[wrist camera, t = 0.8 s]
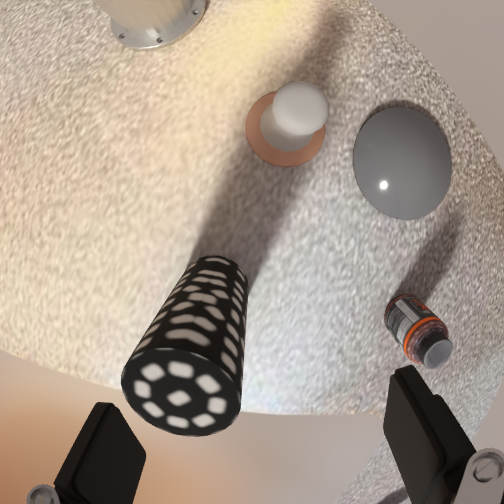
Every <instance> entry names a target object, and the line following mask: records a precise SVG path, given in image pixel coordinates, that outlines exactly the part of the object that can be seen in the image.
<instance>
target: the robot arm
mask: <svg viewBox="0 0 504 504" xmlns="http://www.w3.org/2000/svg"><path fill="white" fill-rule="evenodd" d="M92 1H93V2H95V3H96V4H97V5H98V6H99V7H100V8H101V9H102V10H103V11H105V12H106V13H107V14H108V15H109V16H110V17H111V22H110V26H111V31H112V33H113V35H114V37H115V38H116V39H117V40H118V41H119V42H120V43H121V44H123V45H124V46H126V47H128V48H130V49H134V50H142V51H148V50H156V49H159V48H163V47H166V46H168V45H171V44H173V43H175V42H177V41H178V40H180V39H182V38H183V37H184V36H186V35H187V34H188V33H189V32H191V31H192V30H193V28H194V27H195V26H196V25H197V24H198V22H199V21H200V19H201V18H202V16H203V13H204V11H205V6H206V0H92ZM195 14H196V15H195ZM161 41H162V42H161ZM160 42H161V43H160ZM383 429H384V434H385V436H386V439H387V441H388V443H389V446H390V448H391V451H392V453H393V456H394V458H395V461H396V463H397V466H398V469H399V471H400V474H401V476H402V479H403V481H404V484H405V487H406V489H407V492H408V495H409V497H410V500H411V503H412V504H504V453H503V452H501V451H500V450H498V449H494V448H485V449H482V450H480V451H478V452H477V451H476V450H475V448H474V447H473V445H472V443H471V442H470V440H469V438H468V437H467V435H466V434H465V432H464V430H463V429H462V427H461V426H460V424H459V422H458V421H457V419H456V418H455V416H454V415H453V413H452V412H451V410H450V409H449V407H448V406H447V404H446V403H445V401H444V400H443V398H442V397H441V396H440V395H438V394H436V395H433V394H432V392H431V391H430V389H429V388H428V386H427V385H426V383H425V382H424V380H423V379H422V377H421V376H420V374H419V373H418V371H417V370H416V368H415V367H414V366H413V365H409V366H406V367H402V368H399V369H396V370H395V374H393V375H391V377H390V384H389V391H388V398H387V405H386V411H385V418H384V423H383ZM145 460H146V452H145V450H144V448H143V447H142V445H141V444H140V442H139V441H138V439H137V438H136V436H135V435H134V433H133V432H132V430H131V428H130V427H129V425H128V423H127V422H126V420H125V418H124V417H123V415H122V414H121V412H120V410H119V409H118V408H117V407H115V405H114V404H113V403H104V402H97V403H96V404H95V406H94V407H93V409H92V411H91V413H90V414H89V416H88V418H87V420H86V422H85V424H84V425H83V427H82V429H81V431H80V433H79V435H78V436H77V438H76V440H75V442H74V444H73V446H72V448H71V450H70V452H69V454H68V455H67V458H66V460H65V462H64V463H63V465H62V467H61V469H60V471H59V473H58V475H57V477H56V479H55V481H54V485H55V488H54V489H53V487H51V486H49V485H45V484H42V485H38V486H36V487H34V488H33V489H32V490H31V491H30V492H29V494H28V496H27V504H133V500H134V497H135V494H136V490H137V487H138V483H139V480H140V477H141V473H142V470H143V467H144V463H145Z"/></svg>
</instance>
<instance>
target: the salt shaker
mask: <svg viewBox="0 0 504 504" xmlns="http://www.w3.org/2000/svg"><path fill="white" fill-rule="evenodd" d="M328 114H329V103H328V100H327V98H326V95H325V93H324V92H323V91H322V90H321V89H320V88H318V87H317V86H316V85H314V84H312V83H309V82H306V81H292V82H290V83H289V84H287V85H285V86H283V87H281V88H280V89H279V91H278V92H277V94H276V95H275V96H274V98H273V103H272V104H270V105H269V106H268V107H267V108H266V109H265V111H264V112H263V114H262V115H261V123H260V129H261V131H262V134H263V137H264V139H265V140H266V141H267V142H268V143H269V144H270V145H271V146H272V147H273V148H276V149H279V150H282V151H284V152H288V151H297V150H299V149H301V148H303V147H304V146H306V145H308V143H309V142H310V140H311V139H312V137H313V135H314V132H315V131H317V130H319V129H321V128H322V126H323V125H324V123H325V122H326V120H327V118H328Z"/></svg>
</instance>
